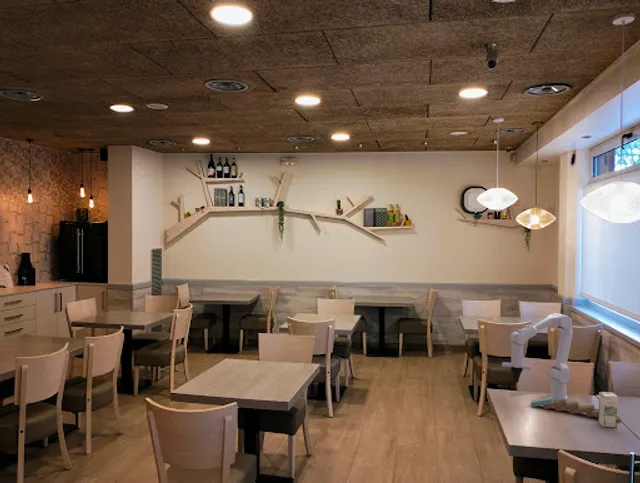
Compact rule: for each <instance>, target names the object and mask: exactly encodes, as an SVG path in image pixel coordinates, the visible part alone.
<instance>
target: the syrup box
mask: <svg viewBox="0 0 640 483" xmlns="http://www.w3.org/2000/svg"><path fill="white" fill-rule="evenodd" d="M618 402H619V401H618V395H616V394H615V393H613V392H609V391H608V392H607V391H599V392H598V409H599V418H598V419H597V421H598V422H597V423H598V424H599V425H600V426H602V427H603V428H611V429H612V428H615V429H616V428H617V426H618V425H617V424H618V422H617V416H618Z"/></svg>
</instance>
